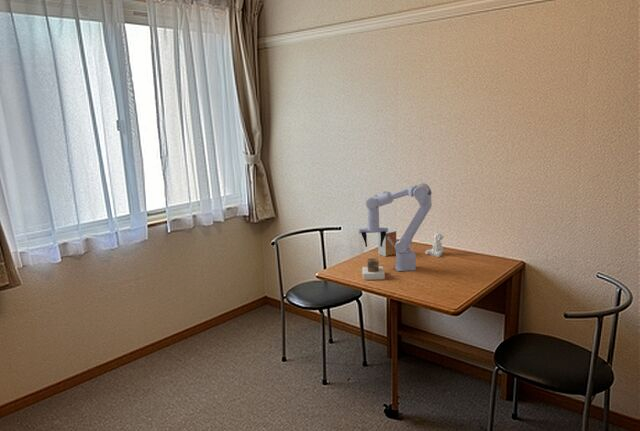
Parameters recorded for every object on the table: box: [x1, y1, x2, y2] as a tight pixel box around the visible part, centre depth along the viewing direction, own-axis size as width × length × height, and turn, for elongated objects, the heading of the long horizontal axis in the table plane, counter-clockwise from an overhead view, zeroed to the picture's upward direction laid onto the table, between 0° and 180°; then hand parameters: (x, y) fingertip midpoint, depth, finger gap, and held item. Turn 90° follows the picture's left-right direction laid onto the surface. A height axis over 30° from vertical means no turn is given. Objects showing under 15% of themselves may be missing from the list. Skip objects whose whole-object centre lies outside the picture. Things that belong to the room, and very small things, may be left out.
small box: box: [377, 228, 397, 257], centre depth 257 cm, size 8×6×13 cm
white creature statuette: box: [424, 232, 445, 258], centre depth 253 cm, size 10×9×12 cm
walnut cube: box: [366, 257, 380, 272], centre depth 225 cm, size 5×5×5 cm
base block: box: [361, 265, 386, 281], centre depth 226 cm, size 10×10×3 cm
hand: (373, 246), depth 238 cm, fingers open, 7 cm apart
